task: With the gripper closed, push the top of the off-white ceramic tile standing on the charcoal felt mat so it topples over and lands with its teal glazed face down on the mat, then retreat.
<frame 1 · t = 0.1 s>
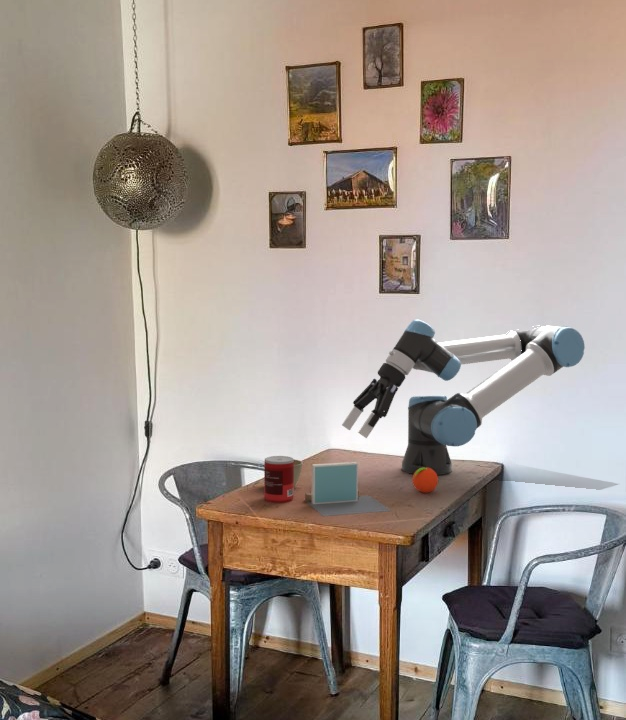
hand: (353, 431, 232), 15 cm above the table, tool tilted 35°, fingers open, 13 cm apart
canned food: (279, 500, 217), on the table
clementine: (423, 493, 226), on the table
flower pot: (284, 488, 231), on the table
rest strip: (331, 499, 216), resting on mat
tile: (334, 501, 214), resting on mat
stone block: (332, 488, 232), on the table
mat: (347, 506, 211), on the table
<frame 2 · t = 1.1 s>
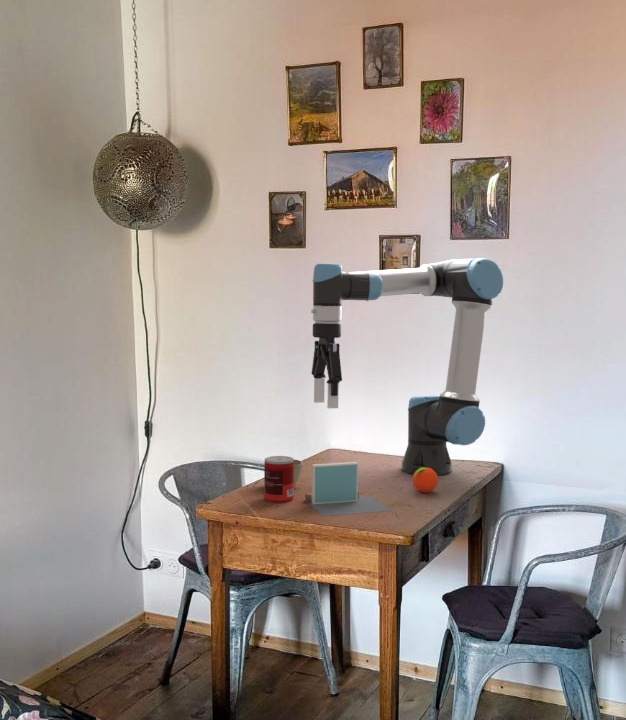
hand: (325, 405, 220), 24 cm above the table, tool pointing down, fingers open, 11 cm apart
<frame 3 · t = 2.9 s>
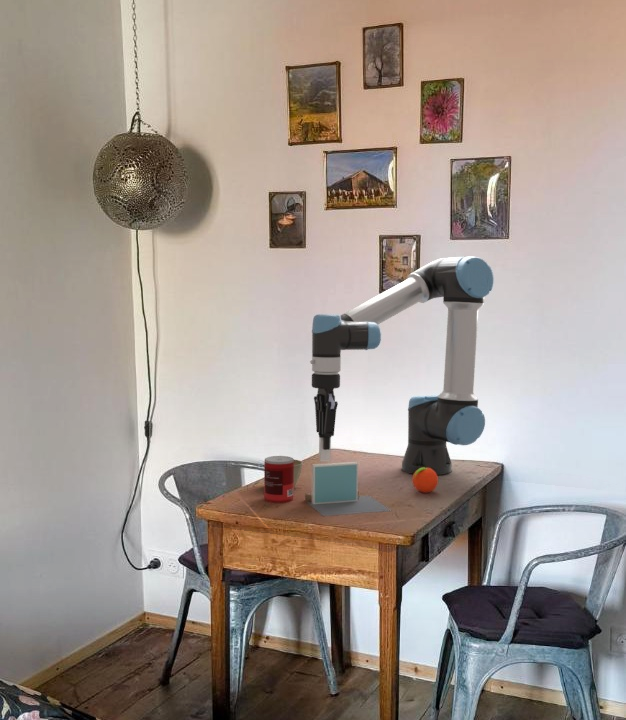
hand: (324, 460, 221), 9 cm above the table, tool pointing down, fingers closed
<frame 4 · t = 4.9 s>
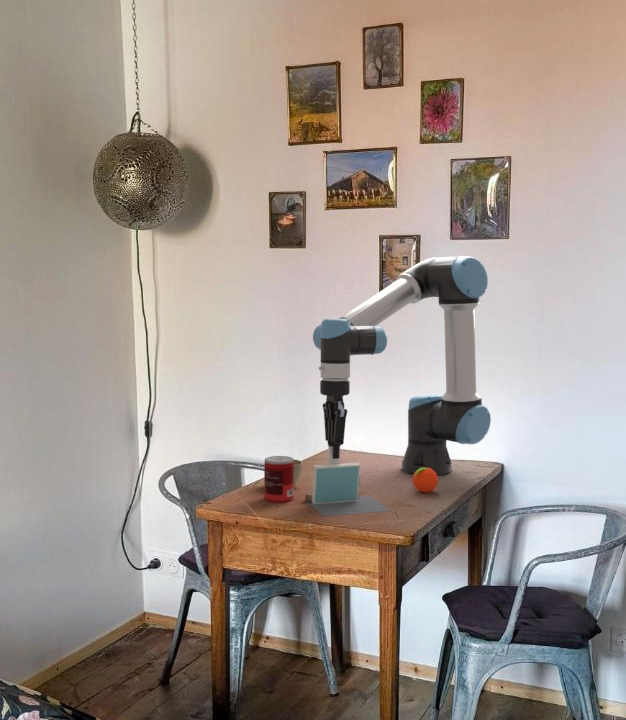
hand: (334, 470, 214), 9 cm above the table, tool pointing down, fingers closed
tile: (334, 501, 214), resting on mat, tilted 9°
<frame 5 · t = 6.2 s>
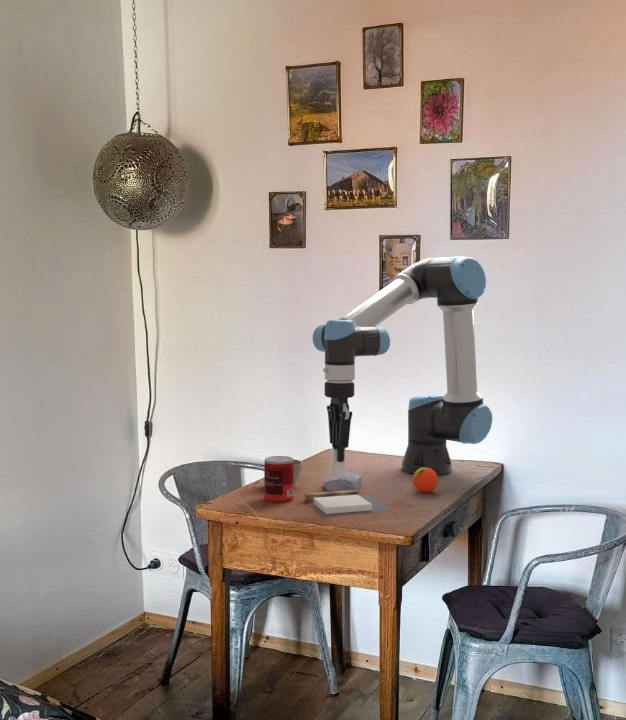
hand: (338, 473, 211), 8 cm above the table, tool pointing down, fingers closed
tile: (335, 499, 213), point 1 cm above the table, tilted 90°, touching mat
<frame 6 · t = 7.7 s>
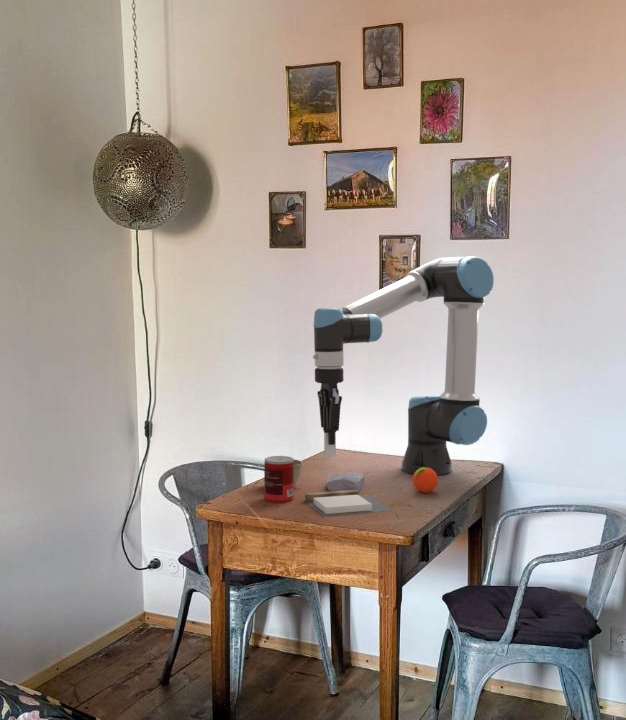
hand: (330, 456, 219), 11 cm above the table, tool pointing down, fingers closed
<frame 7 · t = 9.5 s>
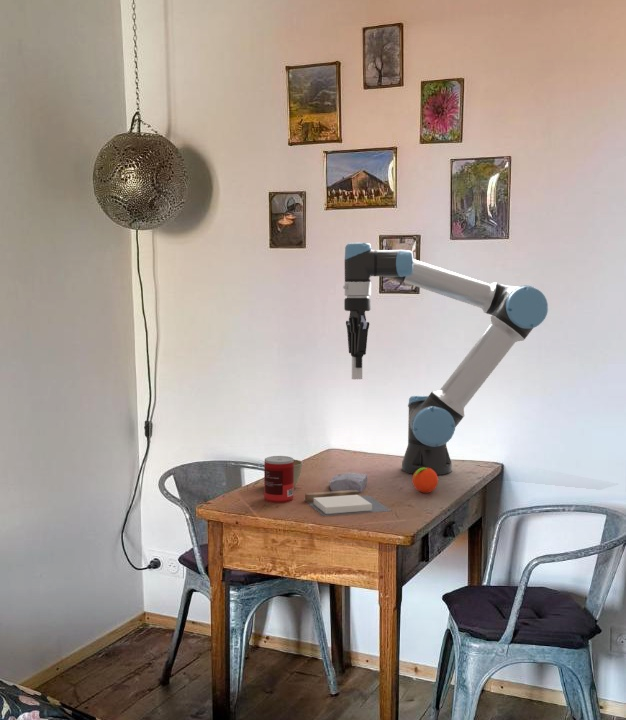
hand: (357, 378, 240), 29 cm above the table, tool pointing down, fingers closed
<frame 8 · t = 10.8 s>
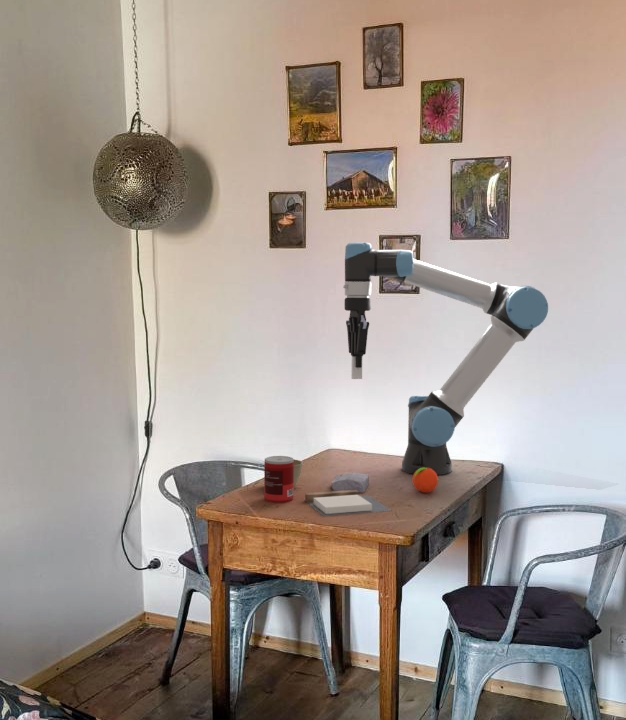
hand: (356, 378, 240), 29 cm above the table, tool pointing down, fingers closed
at the end: tile tilted 90°; tile inside the target area (2.1 cm from its centre), point 1.2 cm above the table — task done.
